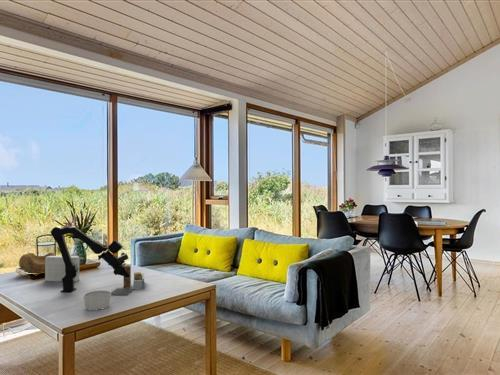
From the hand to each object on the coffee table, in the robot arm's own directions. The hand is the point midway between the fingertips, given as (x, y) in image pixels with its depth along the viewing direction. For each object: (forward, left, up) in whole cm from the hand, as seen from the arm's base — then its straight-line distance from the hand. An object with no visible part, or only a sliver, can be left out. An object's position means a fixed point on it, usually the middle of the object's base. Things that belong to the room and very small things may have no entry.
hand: (129, 275), depth 225 cm
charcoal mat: (-13, -1, -7) cm, 14 cm away
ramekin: (-38, +1, -7) cm, 38 cm away
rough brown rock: (+21, +74, -7) cm, 78 cm away
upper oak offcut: (+2, -5, -3) cm, 6 cm away
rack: (+2, -5, -7) cm, 9 cm away
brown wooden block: (-1, +1, -7) cm, 7 cm away
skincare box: (+8, +49, -7) cm, 50 cm away
